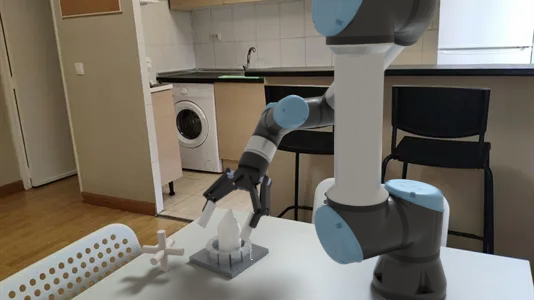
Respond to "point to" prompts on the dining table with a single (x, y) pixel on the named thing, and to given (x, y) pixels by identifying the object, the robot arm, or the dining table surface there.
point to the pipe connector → (162, 250)
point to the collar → (228, 257)
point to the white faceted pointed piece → (229, 233)
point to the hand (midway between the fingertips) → (221, 232)
